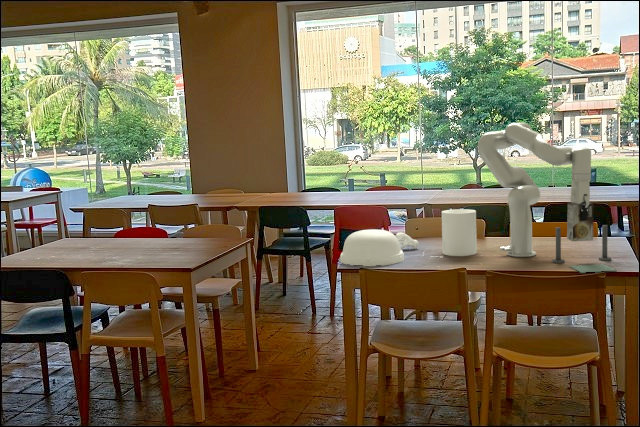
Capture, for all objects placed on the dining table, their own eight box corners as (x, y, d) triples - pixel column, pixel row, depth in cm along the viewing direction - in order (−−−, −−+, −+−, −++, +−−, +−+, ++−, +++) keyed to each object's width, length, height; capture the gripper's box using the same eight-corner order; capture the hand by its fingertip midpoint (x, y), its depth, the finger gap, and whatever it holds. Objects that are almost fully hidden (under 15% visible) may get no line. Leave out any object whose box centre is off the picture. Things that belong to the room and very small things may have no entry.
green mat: (581, 273, 271) (581, 271, 271) (570, 267, 283) (570, 265, 283) (616, 271, 271) (616, 270, 271) (603, 265, 283) (603, 264, 283)
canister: (442, 250, 335) (441, 209, 333) (476, 249, 332) (475, 208, 330) (442, 256, 320) (441, 214, 317) (477, 255, 317) (476, 213, 314)
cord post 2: (601, 261, 292) (601, 226, 290) (596, 259, 297) (596, 224, 295) (613, 260, 292) (613, 225, 290) (608, 258, 297) (608, 224, 295)
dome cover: (346, 254, 339) (344, 226, 337) (406, 253, 333) (405, 224, 331) (334, 267, 308) (333, 236, 306) (401, 266, 302) (400, 235, 300)
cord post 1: (554, 263, 292) (554, 228, 290) (550, 261, 297) (550, 227, 295) (566, 262, 292) (566, 228, 290) (562, 260, 297) (561, 226, 295)
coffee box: (587, 238, 297) (587, 201, 295) (593, 240, 290) (594, 203, 288) (566, 239, 297) (567, 202, 294) (572, 241, 290) (573, 204, 288)
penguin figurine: (395, 231, 344) (418, 232, 344) (394, 248, 345) (417, 249, 345) (395, 233, 338) (419, 234, 337) (394, 250, 339) (418, 251, 339)
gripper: (564, 175, 298) (564, 216, 301) (580, 179, 281) (579, 222, 284) (582, 175, 298) (581, 215, 301) (598, 178, 281) (597, 221, 284)
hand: (580, 218), depth 292 cm, fingers closed on coffee box, 6 cm apart
